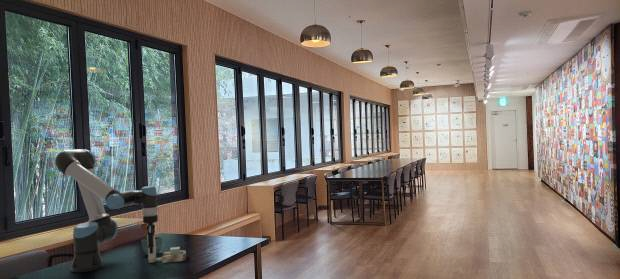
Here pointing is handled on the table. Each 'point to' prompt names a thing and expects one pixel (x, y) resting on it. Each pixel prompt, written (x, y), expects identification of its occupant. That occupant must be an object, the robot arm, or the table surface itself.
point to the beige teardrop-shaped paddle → (172, 252)
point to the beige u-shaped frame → (174, 257)
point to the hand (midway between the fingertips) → (152, 258)
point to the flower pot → (157, 240)
